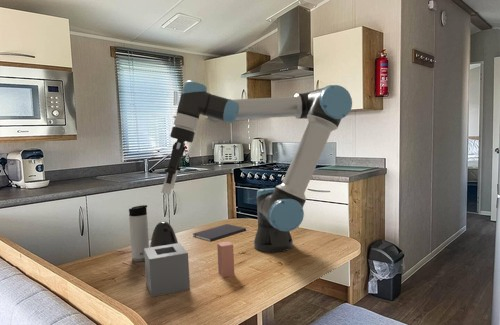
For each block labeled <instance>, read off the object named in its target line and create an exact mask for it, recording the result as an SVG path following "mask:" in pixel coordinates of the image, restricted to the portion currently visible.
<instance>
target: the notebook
mask: <svg viewBox="0 0 500 325" xmlns="http://www.w3.org/2000/svg"><path fill="white" fill-rule="evenodd" d="M246 230H247V228H246V227H242V226H237V225H233V224H229V223H226V224H222V225H218V226H216V227H211V228H208V229H205V230H201V231H198V232H197V231H196V232H193V233H192V235H193V237H195V238H198V239H201V240H205V241H208V242H213V241H215V240H216V241H217V240H219V239H222V238H225V237H229V236H232V235H235V234H238V233H242V232H245V231H246Z"/></svg>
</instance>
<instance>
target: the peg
mask: <svg viewBox="0 0 500 325" xmlns="http://www.w3.org/2000/svg"><path fill="white" fill-rule="evenodd" d="M216 244H217V246H216V247H217V266H218V270H217V271H218V274H219V275H220V277H221V278H226V277H232V276H235V258H234V255H235V254H234V244H233V243H232V242H231V241H229V240H228V241H222V242H217V243H216Z"/></svg>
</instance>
